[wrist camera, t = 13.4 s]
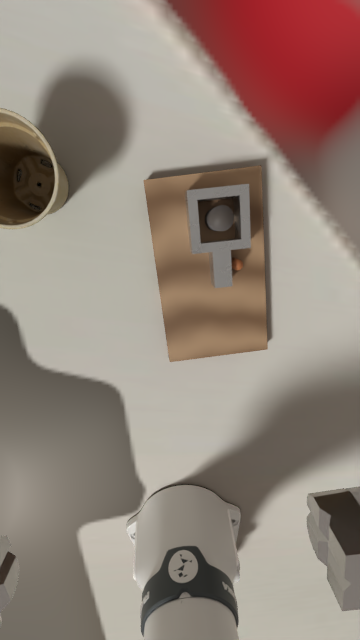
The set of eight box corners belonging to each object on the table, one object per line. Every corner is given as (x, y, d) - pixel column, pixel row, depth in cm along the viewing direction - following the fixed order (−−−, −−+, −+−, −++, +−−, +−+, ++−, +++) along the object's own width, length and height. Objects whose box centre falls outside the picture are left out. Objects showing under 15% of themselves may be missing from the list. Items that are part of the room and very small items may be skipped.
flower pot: (79, 137, 32) (50, 106, 24) (88, 228, 35) (64, 228, 27) (-9, 137, 32) (-70, 106, 24) (7, 229, 35) (-43, 229, 26)
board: (263, 345, 41) (278, 362, 35) (169, 357, 40) (170, 376, 35) (257, 168, 34) (274, 156, 29) (144, 182, 34) (140, 173, 28)
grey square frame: (184, 193, 33) (186, 190, 30) (241, 187, 33) (249, 183, 30) (193, 285, 36) (195, 290, 33) (245, 279, 36) (251, 284, 33)
